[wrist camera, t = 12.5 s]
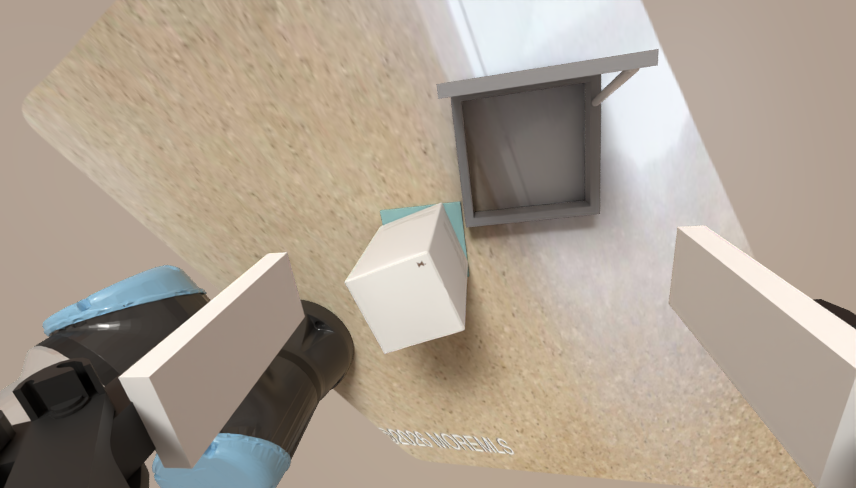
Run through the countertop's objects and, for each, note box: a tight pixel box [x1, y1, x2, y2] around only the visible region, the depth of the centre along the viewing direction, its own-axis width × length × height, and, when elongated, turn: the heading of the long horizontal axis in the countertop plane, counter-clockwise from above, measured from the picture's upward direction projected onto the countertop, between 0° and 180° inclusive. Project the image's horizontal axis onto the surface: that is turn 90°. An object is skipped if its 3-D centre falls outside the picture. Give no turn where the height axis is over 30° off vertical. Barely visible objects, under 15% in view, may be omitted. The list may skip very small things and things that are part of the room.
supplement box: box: [345, 203, 468, 354], centre depth 44 cm, size 9×9×15 cm
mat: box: [380, 202, 469, 277], centre depth 51 cm, size 10×10×1 cm
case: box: [437, 49, 658, 227], centre depth 38 cm, size 15×16×16 cm
